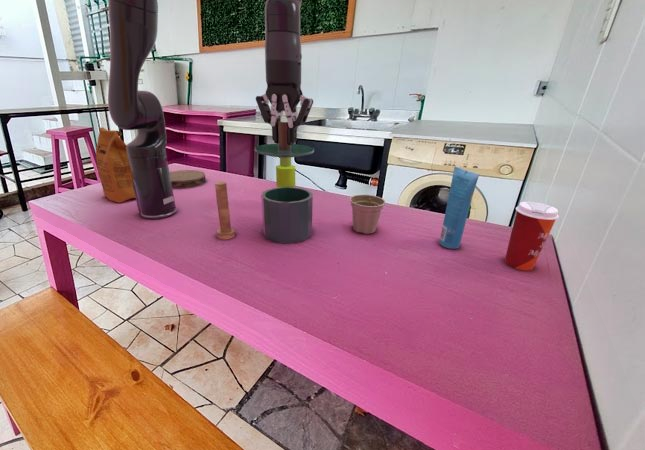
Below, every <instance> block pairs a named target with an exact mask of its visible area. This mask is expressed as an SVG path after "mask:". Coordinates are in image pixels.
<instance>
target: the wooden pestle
mask: <svg viewBox="0 0 645 450" xmlns="http://www.w3.org/2000/svg"><path fill="white" fill-rule="evenodd" d="M214 187H215V189H214V190H215V196H216V205H217V213H218V220H219V228H218V229H216V236H217V238H218V239H219V240H231V239H233V238H235V237H236V229H235V227H232V225H231V223H232V222H231V213H230V206H229V195H228V185H227V182H226V181H223V180H219V181H216V182H214Z"/></svg>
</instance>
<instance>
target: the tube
mask: <svg viewBox="0 0 645 450" xmlns="http://www.w3.org/2000/svg"><path fill="white" fill-rule="evenodd" d="M479 178H480V174H479V173H476V172H473V171H469V170H466V169H463V168H461V167H457V166H454V167H453V171H452V178H451V183H450V186H449V187H450V188H449V192H448V198H447V203H446V208H445V213H444V217H443V223H442V226H441V232H440V236H439V241H438V243H439V245H440V246H441V247H443V248H445V249H451V250H457V249H459V248H460V247H461V243H462V240H463V239H462V238H463V235H464V231H465V227H466V223H467V219H468V216H469V211H470V207H471V205H472V201H473V197H474V194H475V190H476V186H477V183H478V180H479Z"/></svg>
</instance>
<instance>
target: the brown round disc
mask: <svg viewBox="0 0 645 450" xmlns="http://www.w3.org/2000/svg"><path fill="white" fill-rule="evenodd" d="M169 172H170V177H171V183H172V189H173V190H175V189H177V190H178V189H179V190H180V189H189V188H190V189H191V188H196V187H200V186H202V185H205V183H206V182H207V180H206V172H204V171H202V170H194V169H185V170H181V169H180V170H174V171H169Z"/></svg>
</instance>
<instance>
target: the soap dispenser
mask: <svg viewBox="0 0 645 450" xmlns="http://www.w3.org/2000/svg"><path fill="white" fill-rule="evenodd" d="M275 180H276V181H275V182H276V188H277V187H296V166H295V165H293V164H292V157H279V164H278V165H276V166H275Z"/></svg>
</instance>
